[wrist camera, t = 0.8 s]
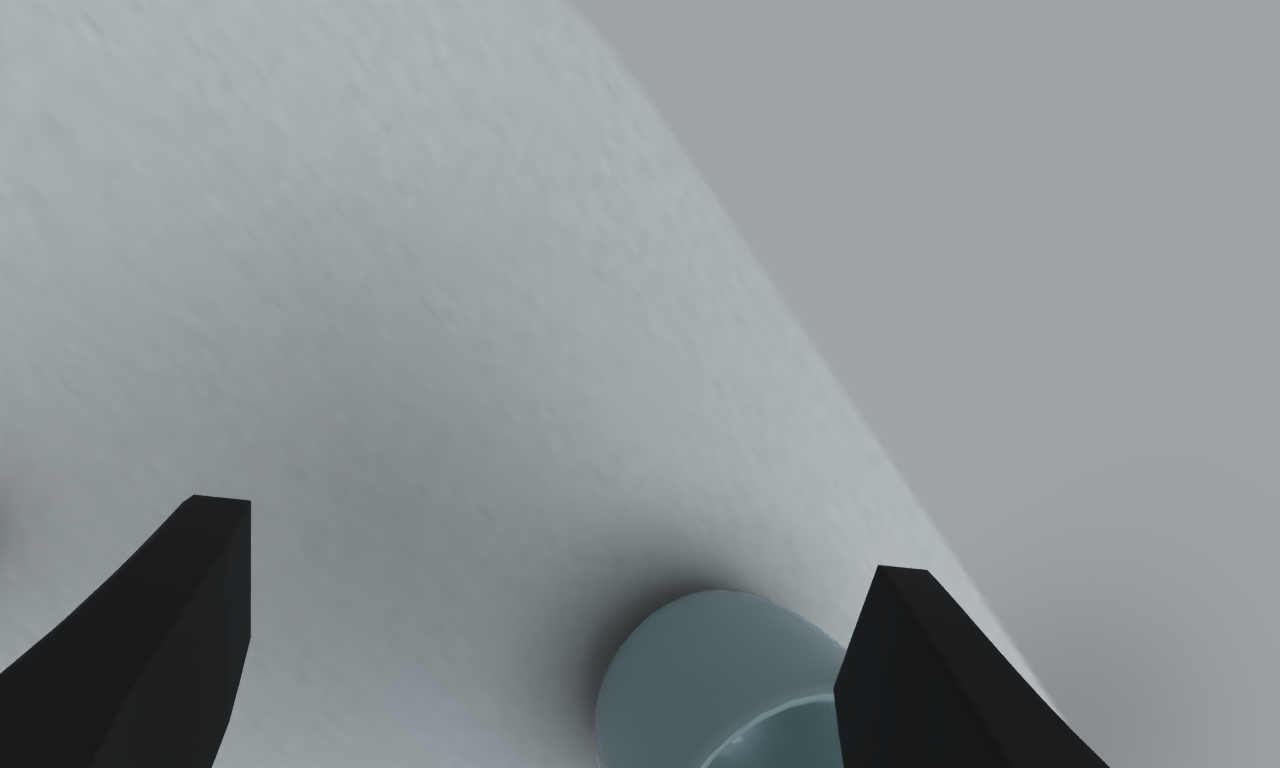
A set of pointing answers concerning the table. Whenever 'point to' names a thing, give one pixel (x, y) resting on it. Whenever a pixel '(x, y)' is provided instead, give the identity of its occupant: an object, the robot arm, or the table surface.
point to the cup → (721, 689)
